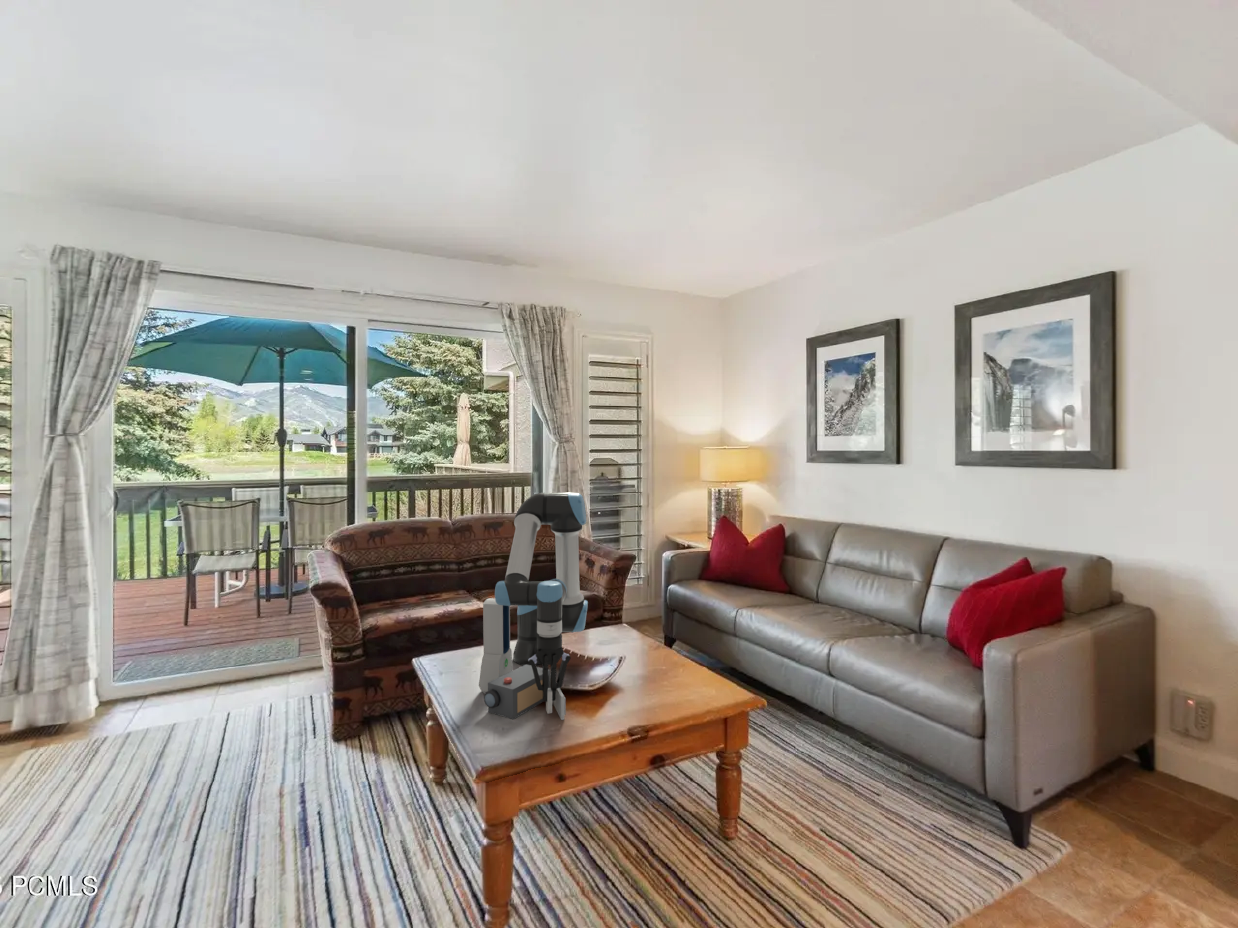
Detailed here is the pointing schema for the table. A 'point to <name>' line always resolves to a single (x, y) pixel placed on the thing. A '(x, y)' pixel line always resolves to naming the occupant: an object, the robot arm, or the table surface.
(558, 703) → the grey thin flat plate
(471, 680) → the table surface
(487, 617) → the electronic device
